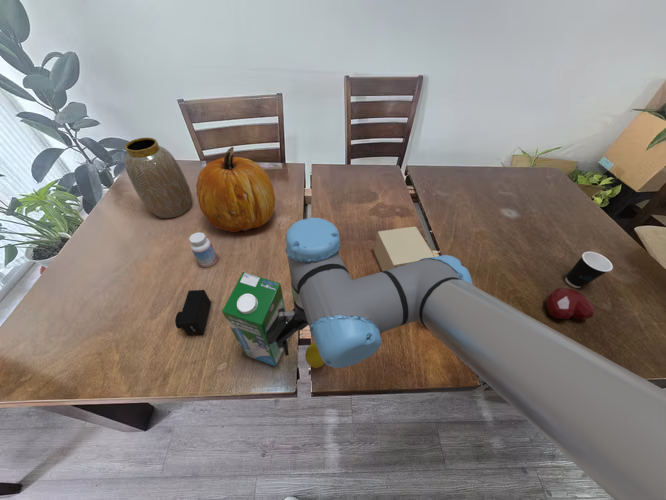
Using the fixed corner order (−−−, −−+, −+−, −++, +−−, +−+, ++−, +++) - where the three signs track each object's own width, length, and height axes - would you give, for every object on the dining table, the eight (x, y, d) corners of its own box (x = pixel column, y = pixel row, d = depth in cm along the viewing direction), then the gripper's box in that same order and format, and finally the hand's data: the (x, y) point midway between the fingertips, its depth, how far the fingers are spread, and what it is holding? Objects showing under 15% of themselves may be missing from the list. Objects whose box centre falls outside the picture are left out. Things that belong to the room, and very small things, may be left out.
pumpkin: (270, 197, 118) (258, 127, 96) (283, 231, 104) (273, 158, 82) (206, 209, 111) (178, 137, 89) (211, 248, 97) (179, 173, 75)
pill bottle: (219, 263, 92) (209, 240, 84) (200, 270, 90) (188, 246, 82) (215, 251, 96) (205, 228, 88) (197, 257, 94) (185, 234, 86)
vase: (203, 199, 116) (179, 136, 96) (178, 225, 104) (145, 160, 85) (168, 191, 118) (137, 129, 98) (139, 217, 107) (98, 152, 87)
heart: (532, 293, 87) (546, 323, 82) (549, 281, 81) (566, 313, 75) (568, 293, 88) (584, 323, 82) (588, 282, 82) (607, 314, 76)
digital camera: (192, 303, 82) (183, 290, 77) (211, 302, 82) (204, 289, 77) (183, 336, 75) (172, 324, 70) (203, 335, 75) (195, 322, 70)
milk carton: (244, 355, 72) (218, 305, 53) (261, 325, 78) (242, 271, 59) (275, 366, 70) (259, 319, 52) (290, 335, 76) (280, 282, 58)
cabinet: (426, 277, 91) (435, 258, 84) (387, 284, 89) (393, 265, 82) (409, 245, 101) (415, 226, 94) (373, 251, 99) (377, 231, 91)
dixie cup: (573, 271, 95) (597, 249, 87) (592, 289, 90) (619, 268, 82) (554, 274, 94) (576, 253, 86) (572, 293, 89) (598, 272, 81)
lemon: (303, 370, 70) (302, 357, 64) (308, 349, 74) (307, 335, 68) (324, 374, 69) (325, 362, 63) (328, 353, 73) (329, 339, 67)
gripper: (374, 266, 53) (362, 319, 69) (241, 288, 48) (260, 339, 64) (388, 299, 48) (371, 348, 64) (241, 326, 44) (262, 371, 59)
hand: (315, 344), depth 64 cm, fingers open, 13 cm apart
